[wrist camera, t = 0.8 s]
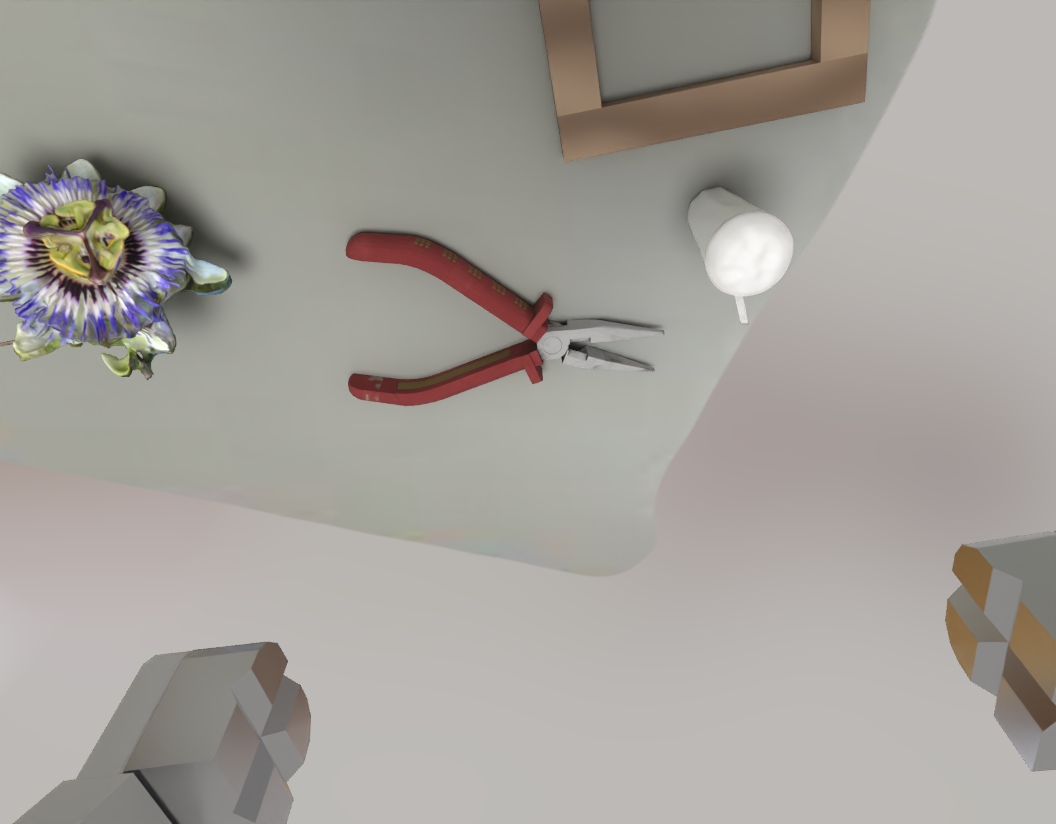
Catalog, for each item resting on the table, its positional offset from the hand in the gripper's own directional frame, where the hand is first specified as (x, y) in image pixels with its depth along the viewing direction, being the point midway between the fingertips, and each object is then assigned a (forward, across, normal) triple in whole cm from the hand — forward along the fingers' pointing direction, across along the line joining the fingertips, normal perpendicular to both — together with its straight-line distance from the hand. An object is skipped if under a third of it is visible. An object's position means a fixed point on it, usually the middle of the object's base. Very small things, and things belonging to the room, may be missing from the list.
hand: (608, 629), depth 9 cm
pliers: (+39, +6, +13) cm, 41 cm away
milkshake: (+38, -10, +7) cm, 40 cm away
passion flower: (+38, +27, +2) cm, 47 cm away
